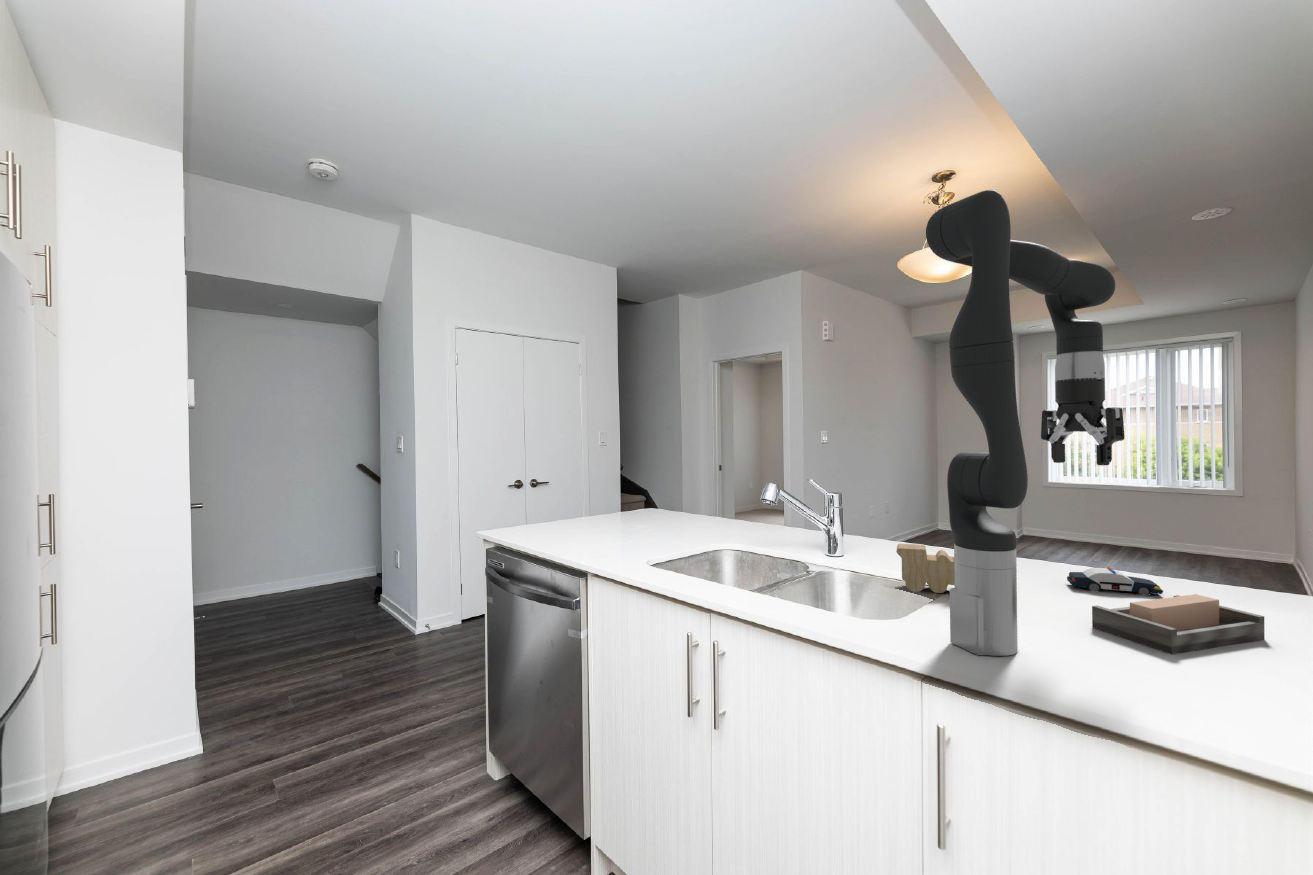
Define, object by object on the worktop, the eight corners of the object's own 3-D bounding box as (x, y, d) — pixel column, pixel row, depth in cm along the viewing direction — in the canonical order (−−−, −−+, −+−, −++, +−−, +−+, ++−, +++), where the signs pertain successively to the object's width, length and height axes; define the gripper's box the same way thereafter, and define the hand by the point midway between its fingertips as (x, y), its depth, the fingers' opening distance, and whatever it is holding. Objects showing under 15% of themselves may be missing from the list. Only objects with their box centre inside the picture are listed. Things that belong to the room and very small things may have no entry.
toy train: (981, 598, 124) (980, 552, 124) (896, 590, 131) (896, 547, 131) (978, 591, 129) (978, 547, 129) (897, 584, 136) (896, 542, 136)
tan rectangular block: (1152, 634, 97) (1151, 608, 97) (1130, 627, 101) (1129, 602, 101) (1219, 624, 101) (1219, 599, 101) (1195, 618, 105) (1195, 594, 105)
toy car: (1163, 598, 122) (1163, 575, 122) (1072, 590, 129) (1071, 568, 129) (1154, 592, 126) (1154, 569, 126) (1067, 585, 133) (1066, 563, 133)
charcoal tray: (1171, 654, 92) (1171, 629, 92) (1092, 627, 105) (1092, 605, 105) (1264, 639, 97) (1264, 616, 97) (1178, 615, 110) (1178, 595, 110)
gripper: (1029, 381, 113) (1030, 462, 113) (1102, 374, 99) (1103, 467, 99) (1059, 381, 114) (1060, 461, 115) (1135, 374, 101) (1135, 465, 101)
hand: (1080, 463), depth 107 cm, fingers open, 8 cm apart
